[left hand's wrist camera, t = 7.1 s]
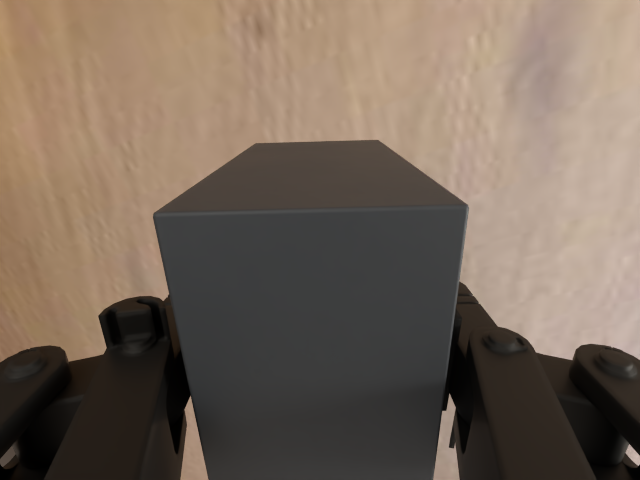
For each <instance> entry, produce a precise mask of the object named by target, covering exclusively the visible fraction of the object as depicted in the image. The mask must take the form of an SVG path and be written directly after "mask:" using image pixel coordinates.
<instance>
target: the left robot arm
mask: <svg viewBox="0 0 640 480" xmlns="http://www.w3.org/2000/svg"><path fill="white" fill-rule="evenodd" d="M98 317H99V320H100V324H101V328H102V332H103V335H104V339H105V343H106V347H107V349H106V351H105V353H104V354H103V355H99V356H95V357H90V358H86V359H81V360H76V361H71V362H68V359H67V356H66V353H65V351H64V350H63V349H62V348H60V347H56V346H41V347H34V348H30V349H26V350H23V351H21V352H19V353H17V354H15V355H13V356H11V357H8V358H7V359H5V360H4V361H2V362H1V363H0V458H1V457H2V456H3V455H4V454H5V453H6V452H7V450H8V449H9V448H10V447H11V446H13V449H14V451H15V453H16V455H15V456H14V457H13V458H12V459H11V461H10V462H9V463H7V464H6V465H5V466H4V467H2V466H1V465H0V480H180V477H181V469H182V461H183V452H184V444H185V435H186V427H187V422H186V416H185V410H184V409H185V407H186V404H187V402H188V400H189V398H190V395H191V394H190V389H189V385H188V380H187V375H186V370H185V366H184V361H183V356H182V351H181V347H180V342H179V337H178V333H177V328H176V323H175V318H174V314H173V309H172V304H171V300H170V295H168V298H166V299H165V300H164V301H162V300H161V299H160V298H156V297H152V296H139V297H134V298H129V299H125V300H122V301H120V302H117V303H114V304H113V305H111V306H109V307H108V308H106V309H104V310H103V311H102V313H101V314H100V315H99V316H98ZM449 393H450V395H451V397H452V400H453V402H454V404H455V406H456V410H455V416H454V421H453V427H452V432H451V437H450V444H449V448H454V445H455V443H456V451H457V460H458V468H459V476H460V480H640V465H639V466H637V465H636V464H635V463H634V462H633V461H632V460H631V459H630V458H629V457H628V456H627V455H626V453H625V452H626V450H627V448H628V445H629V444H630V445H631V446H632V447H633V448H634V450H635V451H636V452H637V453H638V454H639V455H640V360H638V359H637V358H635V357H634V356H632V355H630V354H627V353H625V352H623V351H622V350H620V349H617V348H611V347H610V346H605V345H596V344H588V345H581V346H580V347H579V348H577V349H576V351H575V354H574V357H573V360H568V359H563V358H558V357H553V356H548V355H543V354H539V353H536V352H535V350H534V348H533V347H532V345H531V344H530V343H529V342H528V340H526V339H525V338H524V337H522V336H521V335H519V334H518V333H515V332H513V331H511V330H508V329H506V328H501V327H498V326H497V325H496V324H495V323H494V321H493V320H492V319H491V317H490V316H489V315H488V314H487V312H486V311H485V310H484V308H483V307H482V306H481V305H480V304H479V303H478V301H477V300H476V298H475V297H474V296H473V294H472V293H471V292H470V291H469V289H468V288H467V287H466V285H464V284H463V283H461V282H459V287H458V294H457V302H456V309H455V317H454V325H453V332H452V340H451V347H450V355H449V362H448V370H447V378H446V385H445V393H444V400H443V408H442V411H446V409H447V404H448V398H449Z"/></svg>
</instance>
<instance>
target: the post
mask: <svg viewBox="0 0 640 480" xmlns="http://www.w3.org/2000/svg"><path fill="white" fill-rule="evenodd" d="M468 211H469V207H468V205H467V204H466V203H465V202H463V201H462V200H460V199H459V198H458V197H456V196H455V195H453V194H452V193H451V192H449V191H448V190H447V189H445V188H444V187H442V186H441V185H440V184H438V183H437V182H435V181H434V180H433V179H431V178H430V177H429V176H427V175H426V174H424V173H423V172H422V171H420V170H419V169H418V168H416V167H415V166H413V165H412V164H411V163H409V162H408V161H406V160H405V159H404V158H402V157H401V156H400V155H398V154H397V153H395V152H394V151H393V150H391V149H390V148H389V147H387V146H386V145H384V144H383V143H382V142H380V141H379V140H359V141H324V142H289V143H256V144H254V145H253V146H251V147H250V148H248V149H247V150H245V151H244V152H242V153H241V154H239V155H238V156H237V157H235V158H234V159H232V160H231V161H229V162H228V163H226V164H225V165H223V166H222V167H220V168H219V169H218V170H216V171H215V172H213V173H212V174H210V175H209V176H207V177H206V178H204V179H203V180H202V181H200V182H199V183H197V184H196V185H194V186H193V187H191V188H190V189H188V190H187V191H185V192H184V193H183V194H181V195H180V196H178V197H177V198H175V199H174V200H172V201H171V202H169V203H168V204H166V205H165V206H164V207H162V208H161V209H159V210H158V211H156V212H155V213H154V215H153V219H154V224H155V229H156V233H157V238H158V243H159V248H160V252H161V257H162V262H163V267H164V271H165V276H166V281H167V285H168V290H169V295H170V300H171V304H172V309H173V314H174V318H175V323H176V328H177V333H178V337H179V342H180V347H181V351H182V356H183V361H184V366H185V370H186V375H187V380H188V385H189V389H190V394H191V399H192V403H193V408H194V413H195V418H196V422H197V427H198V432H199V436H200V441H201V446H202V451H203V455H204V460H205V465H206V469H207V474H208V479H209V480H433V476H434V468H435V461H436V453H437V446H438V438H439V431H440V423H441V415H442V408H443V400H444V393H445V385H446V378H447V370H448V362H449V355H450V347H451V340H452V332H453V325H454V317H455V309H456V302H457V294H458V287H459V279H460V272H461V264H462V256H463V249H464V241H465V234H466V226H467V219H468Z"/></svg>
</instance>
